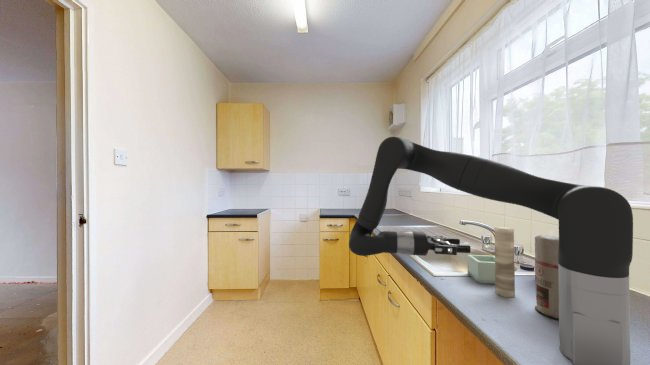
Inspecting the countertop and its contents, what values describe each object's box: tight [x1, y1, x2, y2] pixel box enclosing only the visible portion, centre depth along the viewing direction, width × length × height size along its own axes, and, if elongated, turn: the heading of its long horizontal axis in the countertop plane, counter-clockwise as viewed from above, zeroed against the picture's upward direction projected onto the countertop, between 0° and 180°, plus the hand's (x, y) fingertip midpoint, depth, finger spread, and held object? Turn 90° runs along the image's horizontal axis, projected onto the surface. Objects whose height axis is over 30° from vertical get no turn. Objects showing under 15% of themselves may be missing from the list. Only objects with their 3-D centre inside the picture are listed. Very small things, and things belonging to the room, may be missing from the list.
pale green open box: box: [467, 254, 495, 285], centre depth 88 cm, size 9×9×7 cm
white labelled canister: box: [534, 234, 559, 320], centre depth 64 cm, size 8×8×20 cm
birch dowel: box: [494, 226, 516, 298], centre depth 75 cm, size 5×5×20 cm
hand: (464, 245), depth 77 cm, fingers open, 8 cm apart
